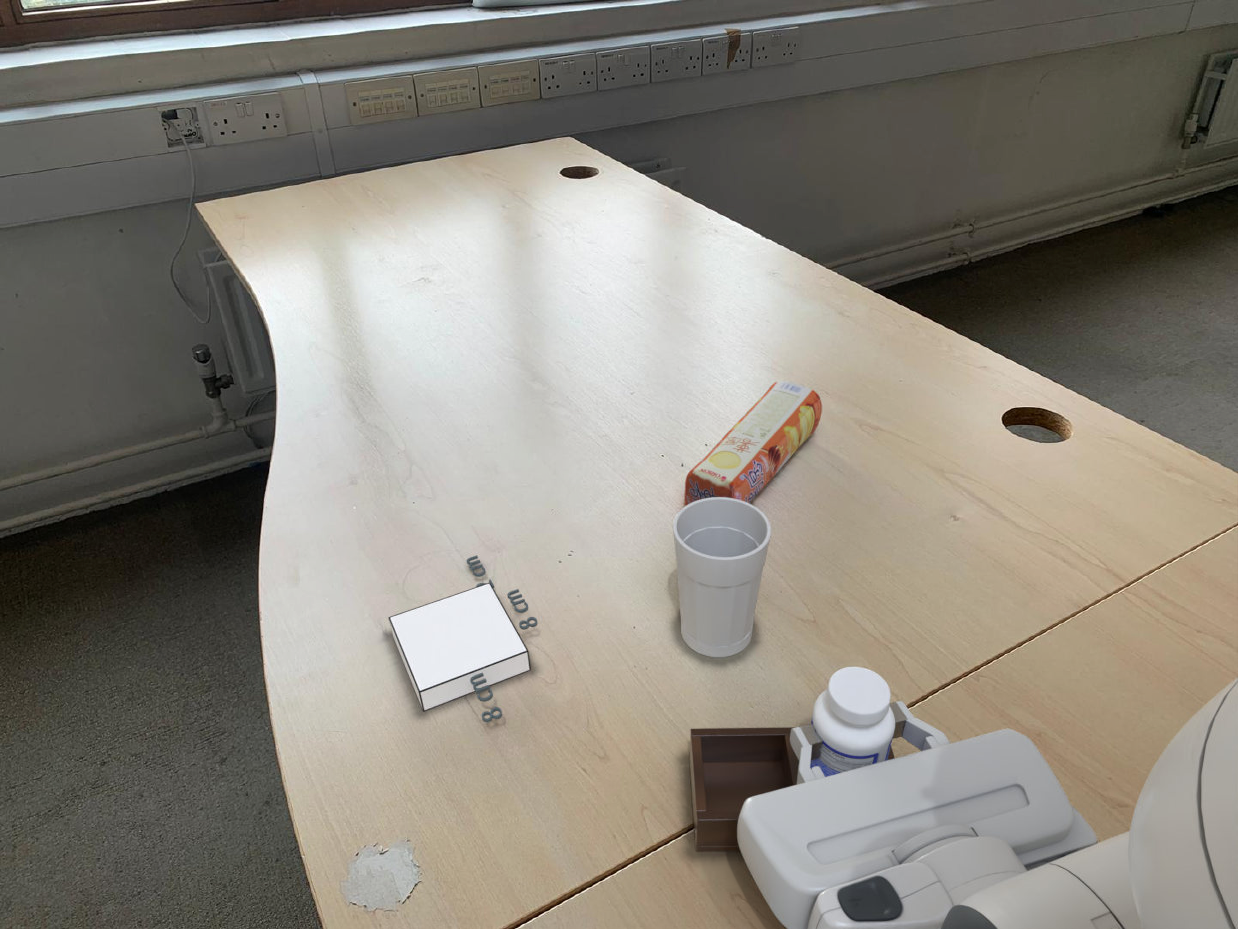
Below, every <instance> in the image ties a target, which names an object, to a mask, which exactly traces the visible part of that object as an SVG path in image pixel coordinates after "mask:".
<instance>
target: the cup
mask: <svg viewBox="0 0 1238 929" xmlns="http://www.w3.org/2000/svg"><path fill="white" fill-rule="evenodd" d="M672 533H673V542H674V552H675V553H674V554H675V563H676V564H675V566H676V574H677V575H676V577H677V587H678V600H679V601H678V602H679V609H680V611H679V612H680V633H681V637H682V639H683V641H684V643H685V644H686V645H687V646H688V647H689V648H690V649H691V650H692V651H694V652H696V653H698V654H700V655H702V656H705V657H711V658H727V657H733V656H734V655H737V654H739V653H740V652H742V651H743V650H745V649H747V647H748V646H749V644H750V642H751V641H752V637H753V628H754V618H755V613H756V608H757V602H758V597H759V591H760V586H761V582H762V575H763V571H764V567H765V565H766V559H767V555H768V551H769V546H770V541H771V537H772V525H771V522H770V520H769V518H768V517H767V516H766V514H765V513H764V512H763V511H762V510H760V508H758V507H757V506H756V505H755V506H754V504H751V503H747V502H744V501H741V500H738V499H733V498H726V497H712V498H705V499H701V500H697V501H695V502H692V503H690V504H688V505H687V506H685V505H684V506H683V507H682V508H681V509H680V510H679V511H678V512H677V513H676V515H675V517H674V519H673V522H672Z"/></svg>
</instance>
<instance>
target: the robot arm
mask: <svg viewBox="0 0 1238 929" xmlns="http://www.w3.org/2000/svg"><path fill="white" fill-rule="evenodd" d="M889 706H890V707H891V709H892V711H893V714H894V718H895V730H894V735H893V739H892V740H894V739H898V738H899V739H900V738H902V739H903V740H904V741H906V742H907V743H909V744H911V745H912V746H914V747H915V748H917V749H918V750H920V751H916V752H913V753H910V754H906V755H902V756H898V757H895V758H894V759H890V760H887V761H883V762H879V763H876V764H872V765H868V766H864V767H861V768H857V769H853V770H850V771H846V772H842V773H838V774H835V775H831V776H827V777H825V776H824V774H823V772H822V770H821V769H820V767H818V766H816V767H812V769H811V768H810V764H811V760H815V759H818V758H820V755H821V751H820V749H821V748H822V744H823V741H822V739H821V737H820V736H819V734H818V733H817V732H815V727H814V725H813V724H811V723H809V724H804V725H800V726H795V727H796V728H792V729H791V734H790V743H791V746H792V748H793V750H794V752H795V754H796V756H797V758H798V760H799V767H798V776H797V785H794V786H790V787H786V788H783V789H779V790H775V791H772V792H768V793H764V794H760V795H756V796H753V797H750V798H748V799H746V801H745V802H744V804H743V807H742V809H741V812H740V815H739V818H738V825H737V839H738V844H739V848H740V850H741V851H740V853H741V855H742V857H743V860H744V862H745V864H746V867H747V869H748V870H749V873H750V874H751V877H752V878H753V880H754V882H755V884H756V886H757V888H758V890H759V891H760V893H761V895H762V897H763V899H764V900H765V902H766V903H767V905H768V908H770V910H771V911H772V913H773V915H774V916H775V917H776V919H777V921H779V922H780V923H781V925H782V926H784V927H785V928H786V929H1238V676H1237V677H1236V678H1235V679H1233V680H1232V681H1231V682H1229V683H1228V684H1227V685H1226V686H1225V687H1224V688H1222V689H1221V690H1220V691H1218V692H1217V694H1215V695H1214V696H1213V697H1212V698H1210V699H1209V701H1208V702H1206V703H1205V704H1204V705H1203V706H1202V707H1201V708H1199V709H1198V711H1197V712H1195V713H1194V714H1193V716H1192V717H1191V718H1190V719H1189V720H1187V722H1186V723H1185V724H1184V725H1182V727H1181V728H1180V729H1179V731H1178V732H1177V733H1176V734H1175V735H1174V736H1173V738H1172V739H1171V740H1170V742H1169V743H1168V744H1167V745H1166V747H1165V748H1164V750H1163V751H1162V752H1161V754H1160V755H1159V757H1158V758H1157V760H1156V762H1155V763H1154V765H1153V766H1152V768H1151V770H1150V772H1149V774H1148V776H1147V778H1146V779H1145V782H1144V784H1143V786H1142V789H1141V790H1140V793H1139V796H1138V798H1137V801H1136V804H1135V807H1134V811H1133V815H1132V818H1131V823H1130V827H1129V828H1130V829H1129V830H1128V831H1125V832H1122V833H1120V834H1117V835H1115V836H1111V837H1110V838H1107V839H1104V840H1102V841H1100V842H1098V837H1097V835H1096V832H1095V831H1094V829H1093V828H1092V826H1091V825H1090V824H1089V823H1088V822H1087V820H1086V819H1085V817H1083V815H1082V814H1081V813H1080V811H1078V809H1077V808H1076V807H1074V806H1073V805H1072V804H1071V802H1070V800H1069V797H1068V796H1067V793H1066V792H1065V790H1064V788H1063V787H1062V785H1061V783H1060V780H1058V778H1057V776H1056V774H1055V773H1054V771H1053V770H1052V768H1051V766H1050V765H1049V763H1048V762H1047V760H1046V759H1045V757H1044V756H1043V754H1042V753H1041V751H1040V750H1039V749H1038V747H1037V745H1036V744H1035V743H1034V742H1033V740H1031V738H1030V737H1028V736H1027V735H1026V734H1023V733H1021V732H1019V731H1017V730H1015V729H1013V728H1002V729H998V730H995V731H991V732H988V733H983V734H980V735H977V736H973V737H969V738H965V739H962V740H958V741H954V742H951V741H950V740H949V738H948V737H947V736H946V734H945V733H944V732H943V731H941V730H939V729H938V728H936V727H935V726H932V725H930V724H929V723H927V722H925V721H923V720H922V719H919V718H918V717H914V715H913V714H912V712H911V711H910V709H909V708H908V706H907V705H906V704H905V702H904V701H903V700H897V701H894V702H890V705H889Z"/></svg>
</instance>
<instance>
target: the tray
mask: <svg viewBox="0 0 1238 929" xmlns="http://www.w3.org/2000/svg"><path fill="white" fill-rule="evenodd" d="M796 727H797V726H794V727H781V726H780V727H717V728H715V727H711V728H710V727H709V728H708V727H707V728H706V727H705V728H690V734H689V735H690V736H689V771H690V787H691V802H692V816H693V831H694V841H695V842H694V843H695V844H694V845H695V852H741V850H740V848H739V844H738V839H737V825H738V818H739V815H740V812H741V809H742V807H743V804H744V802H745V801H746V799H748V798H750V797H753V796H756V795H760V794H764V793H768V792H772V791H775V790H779V789H783V788H786V787H790V786H794V785H797V776H798V767H799V760H798V758H797V756H796V754H795V752H794V750H793V748H792V746H791V743H790V734H791V729H792V728H796ZM894 754H895V753H894V751H893V748H892V746H891V747H890V751H889V755H888V760H890V759H894V758H896V757H895V755H894Z"/></svg>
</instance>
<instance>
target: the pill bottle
mask: <svg viewBox="0 0 1238 929" xmlns="http://www.w3.org/2000/svg"><path fill="white" fill-rule="evenodd" d="M891 693H892V692H891V689H890V686H889V684H888V683H887V681H886V680H885V679H884V678H883V676H881V675H880V674H878V673H877V672H875V671H874V670H871V669H869V668H865V667H861V666H846V667H843V668H840V669H838V670H837V671H835V672H834V673H833V674H832V675H831V677H830V679H829V681H828V685H827V688H826V689H825V690H823V691H822V692H821V693H820V694H819V695H818V697H817V699H816V700H815V702H814V705H813V709H812V713H811V714H812V715H811V721H810V722H811V723H810V724H813V725H814V727H815V732H817V733H818V734H819V736H820V737H821V739H822V741H823V744H822V748H821V749H820V751H821V755H820V758H818V759H815V760H811V764H810V768H811V769H812V767H816V766H818V767H820V769H821V770H822V772H823V774H824V776H825V777H827V776H831V775H835V774H838V773H842V772H846V771H850V770H853V769H857V768H861V767H864V766H868V765H872V764H876V763H879V762H883V761H887V760H888V755H889V751H890V747H892V742H893V740H894V739H893V735H894V730H895V718H894V714H893V711H892V709H891V707H890V706H889V705H890V703H891V698H892V695H891Z"/></svg>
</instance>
